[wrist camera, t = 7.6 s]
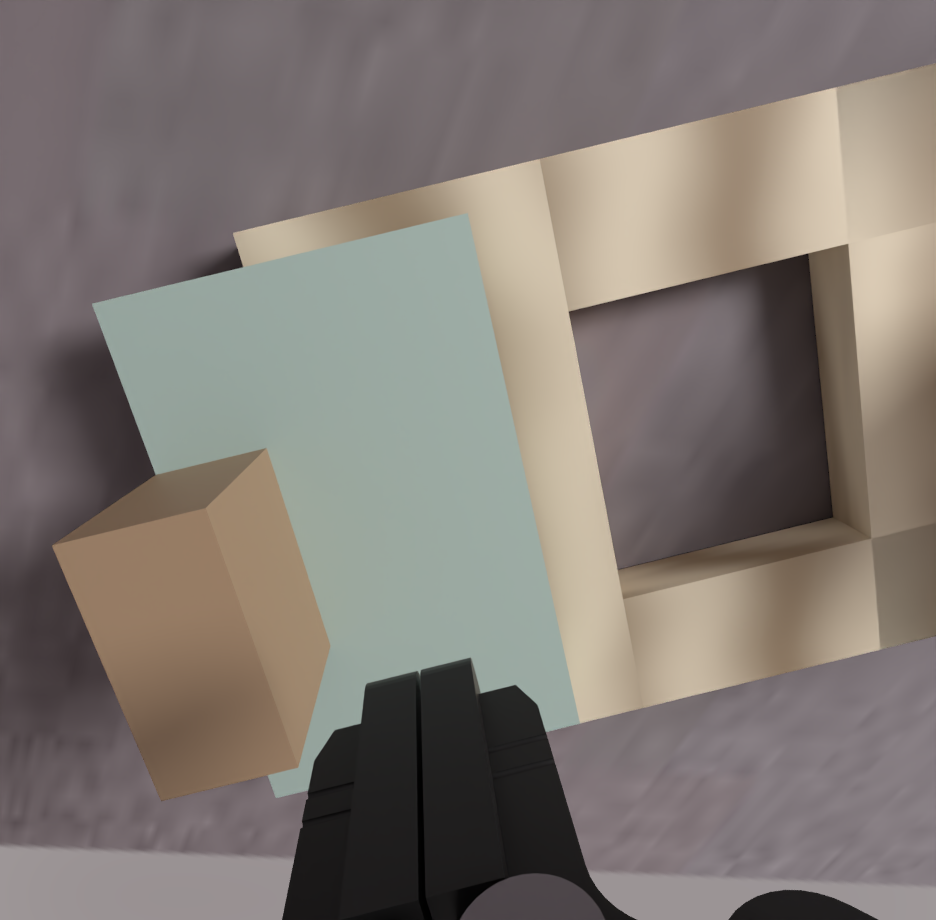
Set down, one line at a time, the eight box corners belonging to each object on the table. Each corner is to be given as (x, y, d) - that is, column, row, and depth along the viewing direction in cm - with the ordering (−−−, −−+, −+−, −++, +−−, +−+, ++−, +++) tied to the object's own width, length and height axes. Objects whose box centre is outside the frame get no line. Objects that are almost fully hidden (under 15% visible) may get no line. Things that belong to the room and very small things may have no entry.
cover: (283, 774, 21) (229, 959, 15) (110, 303, 17) (-50, 308, 11) (572, 703, 21) (629, 860, 15) (464, 217, 17) (486, 179, 11)
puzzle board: (400, 728, 23) (398, 767, 22) (252, 239, 19) (232, 232, 17) (1256, 518, 24) (1330, 539, 22) (1300, -15, 19) (1398, -49, 17)
